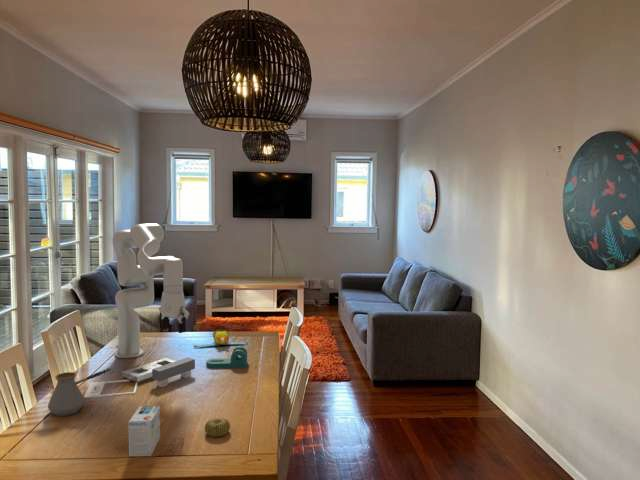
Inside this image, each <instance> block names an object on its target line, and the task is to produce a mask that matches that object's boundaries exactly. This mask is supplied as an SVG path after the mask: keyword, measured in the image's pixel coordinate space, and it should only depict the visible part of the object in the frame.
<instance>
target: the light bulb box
mask: <svg viewBox="0 0 640 480" xmlns="http://www.w3.org/2000/svg"><path fill="white" fill-rule="evenodd" d="M160 409H161V406H160V405H145V406H144V405H143V406H142V405H141V406H140V405H139V406H138V407H137V408H136V410H135V412H134V413H133V415H132V416H131V418H130V419H129V420H128V422H127V425H128V456H129V457H151V456H152V455H153V453H154V451H155V450H156V447H157V445H158V444H159V441H160V439H161V418H160V417H161V416H160V415H161V413H160V412H161V410H160Z"/></svg>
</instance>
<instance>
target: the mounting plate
mask: <svg viewBox="0 0 640 480" xmlns="http://www.w3.org/2000/svg"><path fill="white" fill-rule="evenodd" d="M175 361H176V360H175V359H171V358H167V357H163V358H161V359H158V360H155V361H152V362H149V363H146V364H142V365H139V366H136V367H133V368H130V369H127V370H123V371H121V376H122V377H121V378H122V380H129V381H128V382H130V383H132V384H133V383H134V384H136V383H138V385H139V384H141V383H144V382H147V381H149V380H153V379H152V369H154V368H157V367H160V366H163V365H166V364H169V363H172V362H175Z"/></svg>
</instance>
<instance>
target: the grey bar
mask: <svg viewBox="0 0 640 480" xmlns="http://www.w3.org/2000/svg"><path fill="white" fill-rule="evenodd" d="M194 369H196V360H195V359H194V358H191V357H188V356H187V357H185V358H181V359H179V360H175V362H172V363H169V364H166V365H163V366H160V367H157V368H154V369H152V379H151V380H155V381H156V386H157V387H160V388H163V387H166V386H168V385H169V379H170V378H173V377H176V376H178V375H180V378H184V379H188V378H190V377H192V370H194Z"/></svg>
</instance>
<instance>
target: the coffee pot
mask: <svg viewBox="0 0 640 480" xmlns="http://www.w3.org/2000/svg"><path fill="white" fill-rule="evenodd" d="M107 372H109V374H110V375H112V374H113V369H112V368H107V369H103V370H101V371H99V372H96V373H93V374H91V375H89V376H87V377H85V378H83V379H82V378H81V379H80V380H78V381H75V378H76V376H77V374H76V372H72V371H71V372H70V371H69V372H62V373H59V374H56V375H55V379H56V381H57V383H56V385H55V388H54V390H53V392H52V394H51V397H50V400H49V401H48V405H47V408H48V410H49V411H50V412H51V413H52V414H54V415H55V416H59V417H64V416H70V415H74V414H76V413H77V412H79V410H80V409H81V408H83V406H84V404H85V399H86V398H84V396H83V394H82V392H81V390H80V388H79V386H78V384H81V383H83V382H85V381H88V380H91V379H94V378H96V377H100V376H101V375H103V374H106V373H107Z"/></svg>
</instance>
